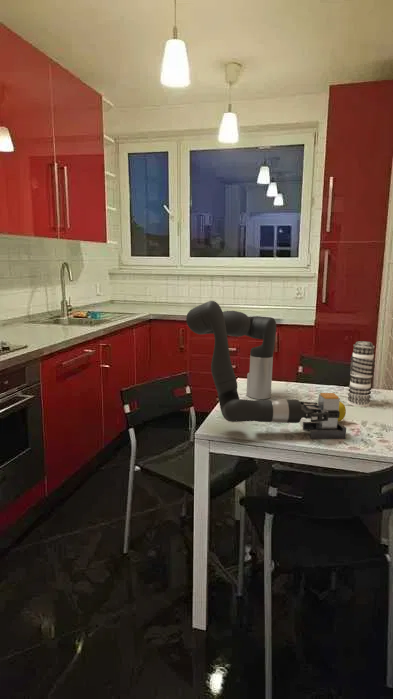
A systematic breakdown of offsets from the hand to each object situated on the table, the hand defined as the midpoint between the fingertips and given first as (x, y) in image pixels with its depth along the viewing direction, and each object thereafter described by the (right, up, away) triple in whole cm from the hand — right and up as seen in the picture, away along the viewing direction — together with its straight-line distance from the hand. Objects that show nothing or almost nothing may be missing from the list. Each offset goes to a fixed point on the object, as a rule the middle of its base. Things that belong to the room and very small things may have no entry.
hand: (335, 411), depth 147 cm
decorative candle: (+20, -2, +35) cm, 40 cm away
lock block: (-3, -7, +1) cm, 7 cm away
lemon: (+4, -6, +12) cm, 14 cm away
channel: (-4, -7, +1) cm, 9 cm away
